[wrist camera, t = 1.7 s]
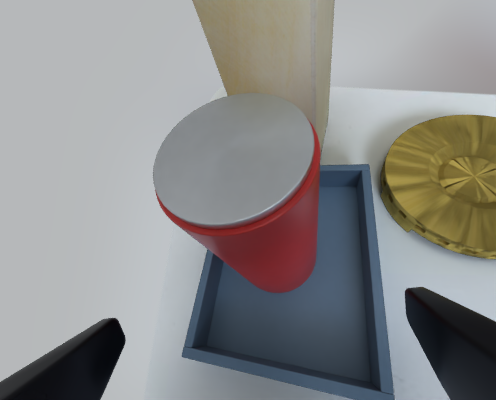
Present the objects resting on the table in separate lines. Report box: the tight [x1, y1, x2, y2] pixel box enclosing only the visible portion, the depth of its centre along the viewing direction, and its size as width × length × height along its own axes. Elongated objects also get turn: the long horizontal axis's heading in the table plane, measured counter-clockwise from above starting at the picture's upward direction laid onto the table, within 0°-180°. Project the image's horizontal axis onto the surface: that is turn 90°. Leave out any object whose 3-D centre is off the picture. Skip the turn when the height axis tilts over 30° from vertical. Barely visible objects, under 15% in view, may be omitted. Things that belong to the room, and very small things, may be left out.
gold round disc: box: [381, 115, 496, 259], centre depth 18 cm, size 12×12×2 cm
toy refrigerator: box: [192, 0, 334, 155], centre depth 17 cm, size 8×7×21 cm
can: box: [153, 93, 321, 293], centre depth 14 cm, size 6×6×13 cm
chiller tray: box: [182, 164, 395, 400], centre depth 18 cm, size 15×12×3 cm
